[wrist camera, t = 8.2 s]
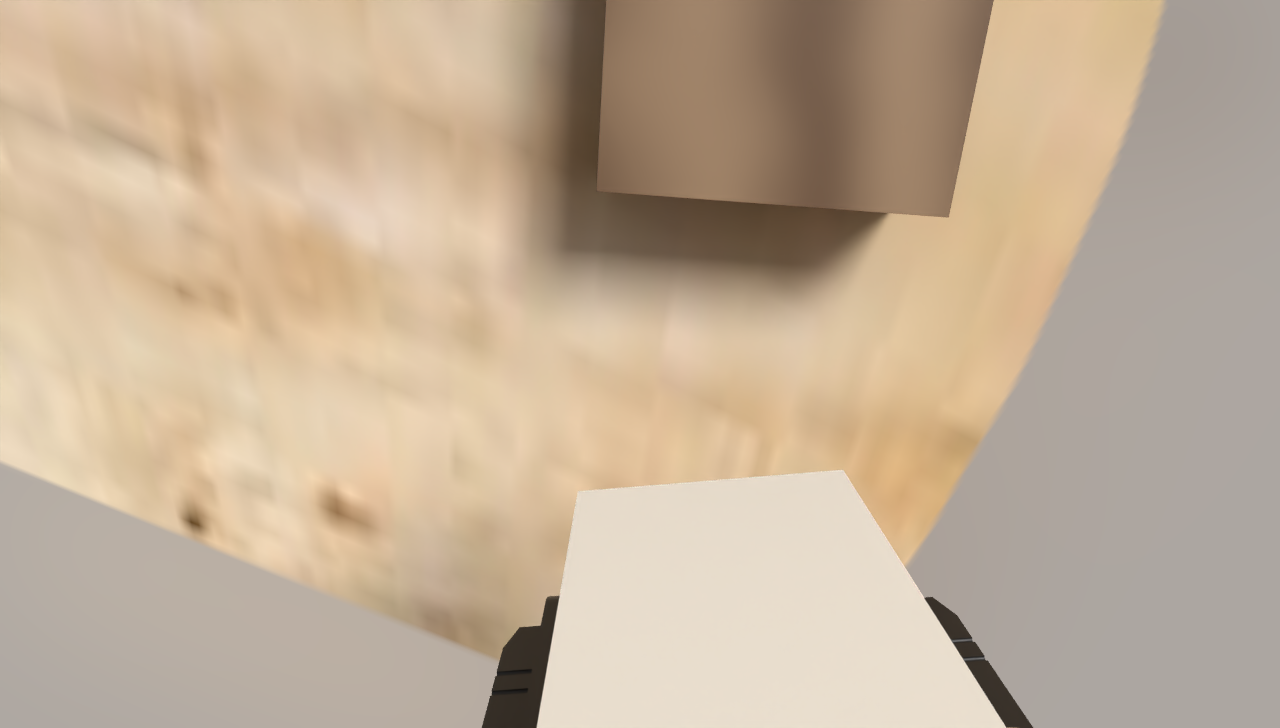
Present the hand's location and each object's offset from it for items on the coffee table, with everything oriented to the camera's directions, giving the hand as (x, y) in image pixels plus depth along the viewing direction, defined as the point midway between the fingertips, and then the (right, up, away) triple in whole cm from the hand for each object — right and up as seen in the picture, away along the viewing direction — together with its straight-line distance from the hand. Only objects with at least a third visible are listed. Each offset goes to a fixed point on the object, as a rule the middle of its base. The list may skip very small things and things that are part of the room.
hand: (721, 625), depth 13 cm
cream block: (0, 0, +1) cm, 1 cm away
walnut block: (+3, +17, +12) cm, 20 cm away
